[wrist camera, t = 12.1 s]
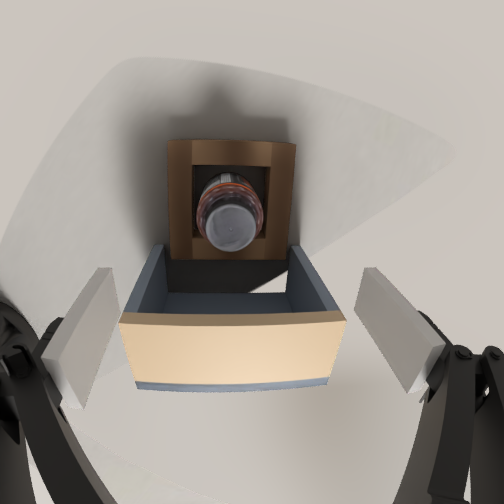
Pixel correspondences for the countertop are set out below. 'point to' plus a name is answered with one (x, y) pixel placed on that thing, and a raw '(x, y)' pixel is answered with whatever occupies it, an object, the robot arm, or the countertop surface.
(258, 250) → the socket
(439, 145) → the countertop surface
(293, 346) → the blue open cabinet
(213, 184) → the supplement bottle
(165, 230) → the countertop surface
